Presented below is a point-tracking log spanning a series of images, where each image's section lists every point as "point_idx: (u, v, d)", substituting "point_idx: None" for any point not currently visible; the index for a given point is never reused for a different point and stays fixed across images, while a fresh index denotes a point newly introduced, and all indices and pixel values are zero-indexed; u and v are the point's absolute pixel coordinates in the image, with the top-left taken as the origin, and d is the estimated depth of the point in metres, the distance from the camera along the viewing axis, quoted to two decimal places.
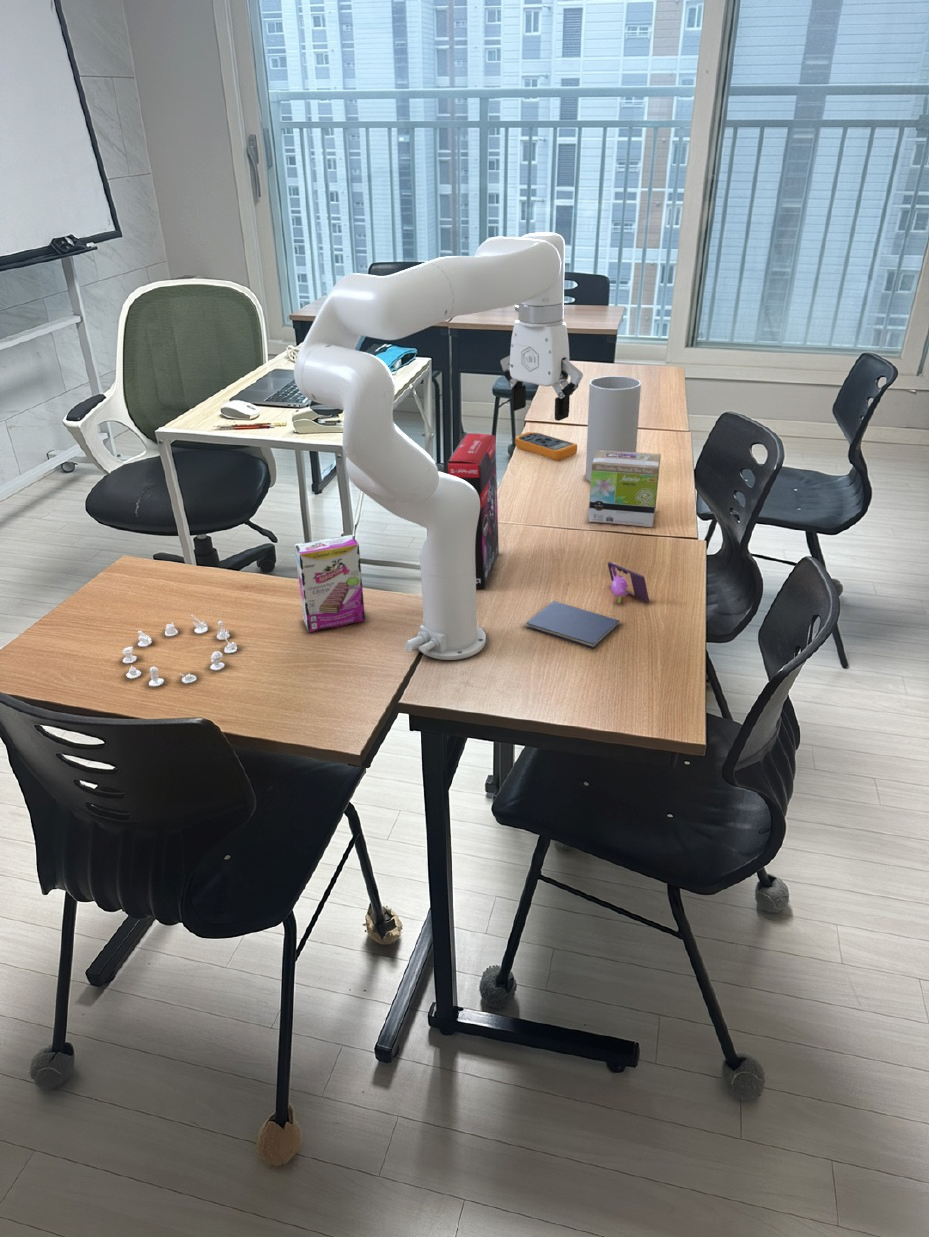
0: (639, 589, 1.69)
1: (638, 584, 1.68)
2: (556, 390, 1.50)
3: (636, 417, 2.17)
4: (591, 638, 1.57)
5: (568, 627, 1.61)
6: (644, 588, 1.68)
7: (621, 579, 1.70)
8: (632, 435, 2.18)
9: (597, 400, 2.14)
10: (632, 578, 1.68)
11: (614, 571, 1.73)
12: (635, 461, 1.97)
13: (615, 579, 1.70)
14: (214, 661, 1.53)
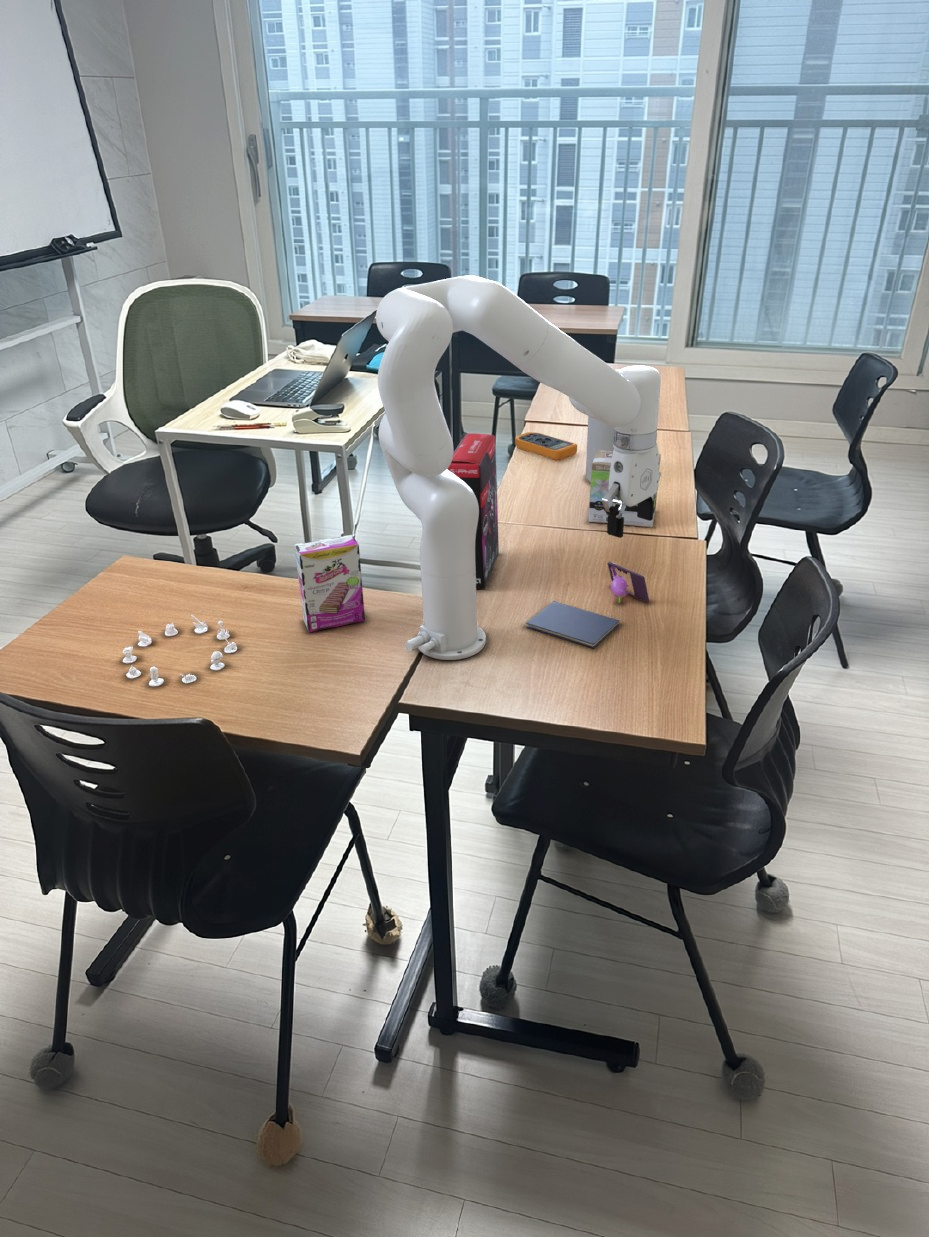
0: (639, 589, 1.69)
1: (638, 584, 1.68)
2: (651, 495, 1.64)
3: None
4: (591, 638, 1.57)
5: (568, 627, 1.61)
6: (644, 588, 1.68)
7: (621, 579, 1.70)
8: None
9: None
10: (632, 578, 1.68)
11: (614, 571, 1.73)
12: None
13: (615, 579, 1.70)
14: (214, 661, 1.53)
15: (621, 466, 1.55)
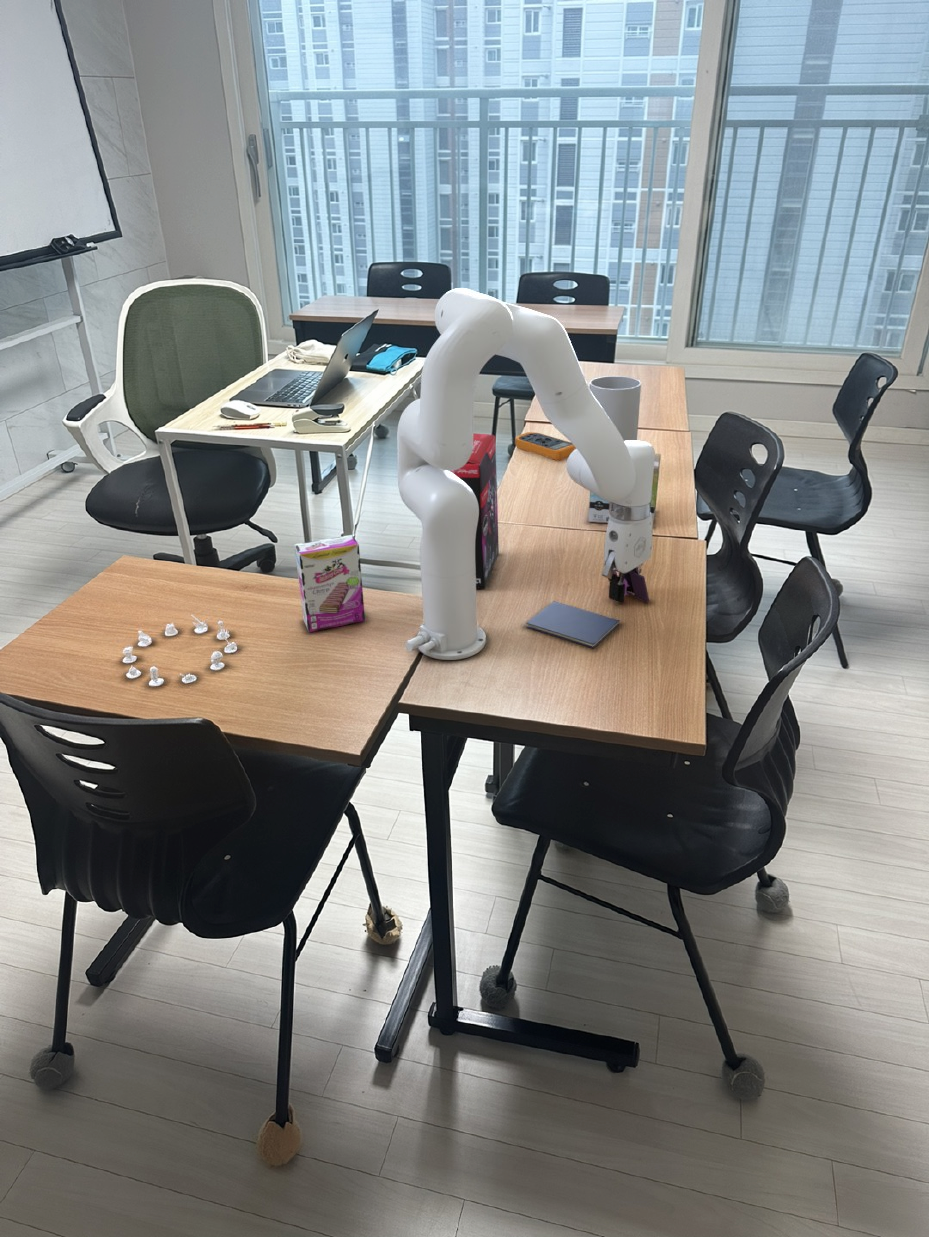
0: (639, 589, 1.69)
1: (638, 584, 1.68)
2: (638, 567, 1.69)
3: (636, 417, 2.17)
4: (591, 638, 1.57)
5: (568, 627, 1.61)
6: (644, 588, 1.68)
7: None
8: (632, 435, 2.18)
9: (597, 400, 2.14)
10: (632, 578, 1.68)
11: None
12: None
13: None
14: (214, 661, 1.53)
15: (616, 535, 1.61)
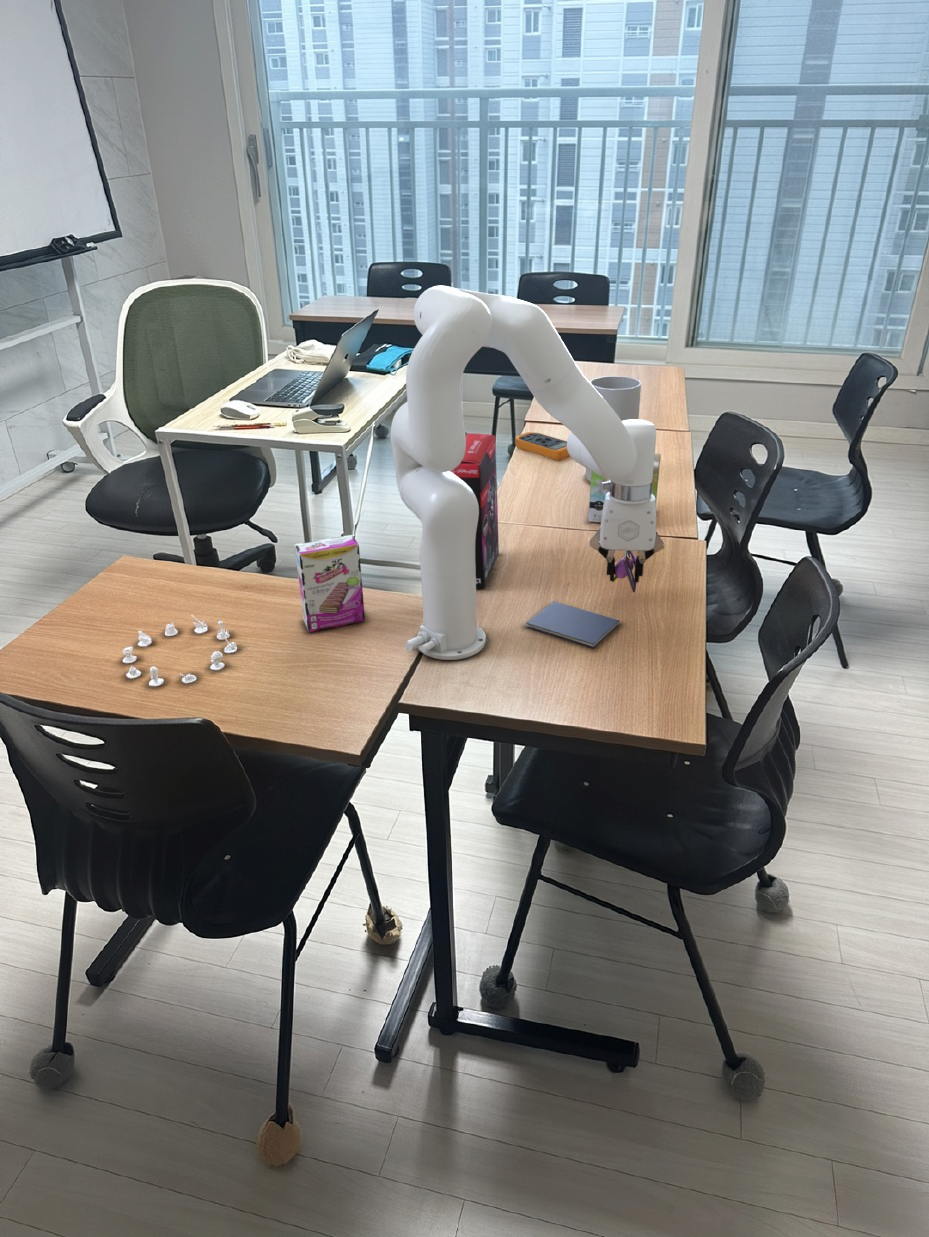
0: None
1: None
2: (640, 555, 1.65)
3: (636, 417, 2.17)
4: (591, 638, 1.57)
5: (568, 627, 1.61)
6: None
7: None
8: None
9: None
10: None
11: None
12: None
13: (621, 559, 1.69)
14: (214, 661, 1.53)
15: None
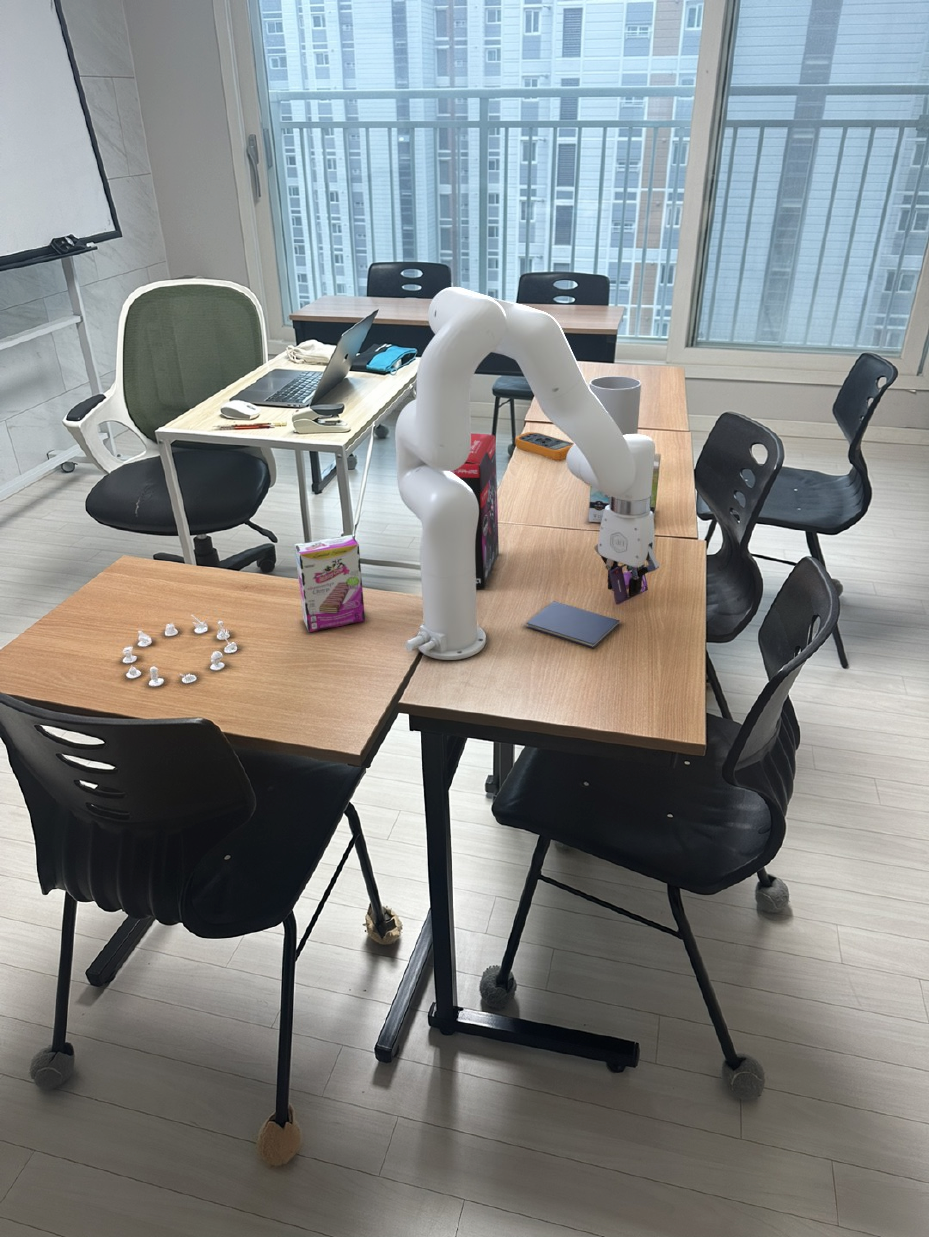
0: None
1: None
2: (633, 571, 1.66)
3: (636, 417, 2.17)
4: (591, 638, 1.57)
5: (568, 627, 1.61)
6: None
7: (625, 573, 1.70)
8: None
9: None
10: None
11: None
12: None
13: None
14: (214, 661, 1.53)
15: None
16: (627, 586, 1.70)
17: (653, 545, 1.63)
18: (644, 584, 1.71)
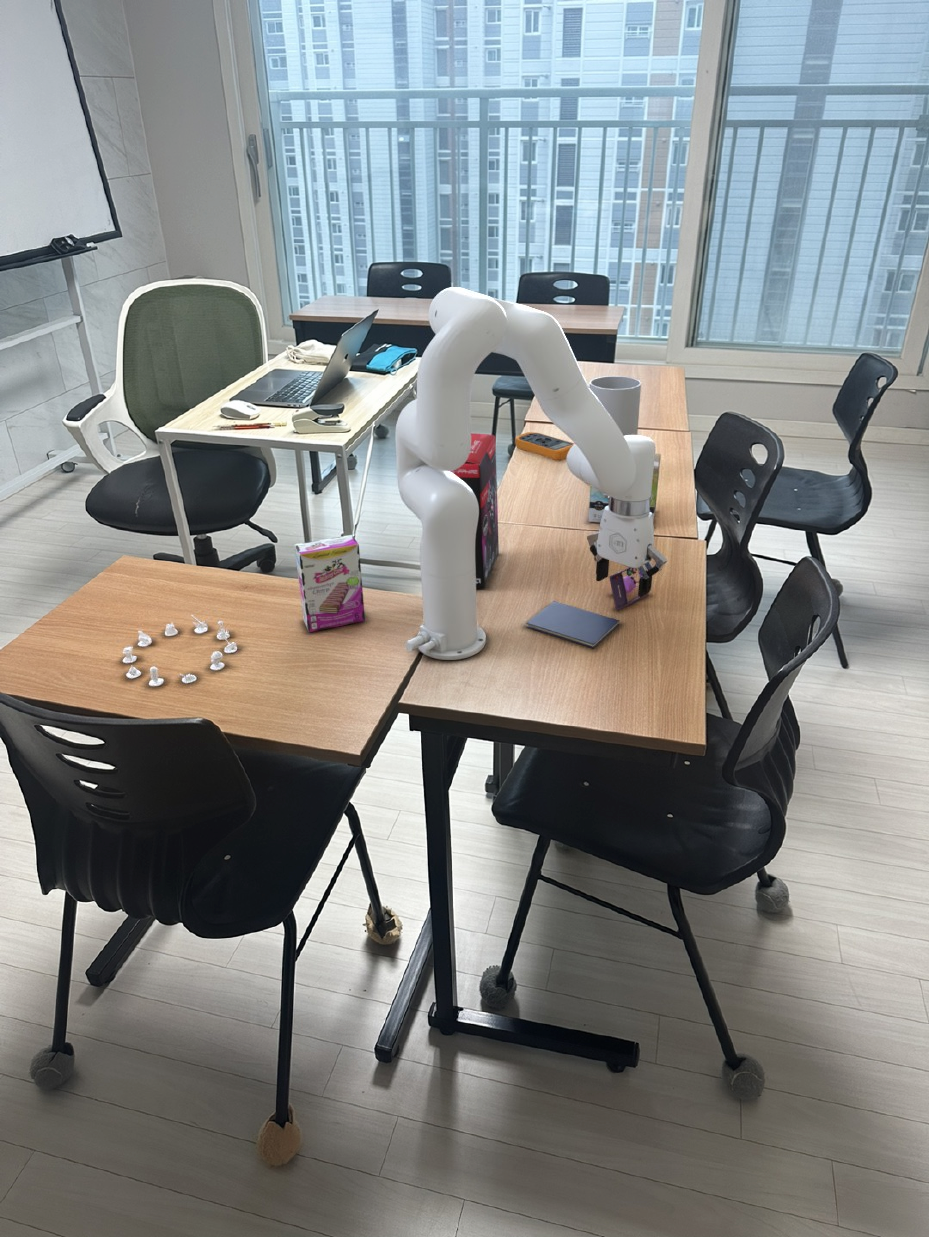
0: None
1: None
2: (641, 571, 1.64)
3: (636, 417, 2.17)
4: (591, 638, 1.57)
5: (568, 627, 1.61)
6: None
7: (625, 578, 1.70)
8: None
9: None
10: None
11: None
12: None
13: None
14: (214, 661, 1.53)
15: None
16: (627, 591, 1.70)
17: None
18: None
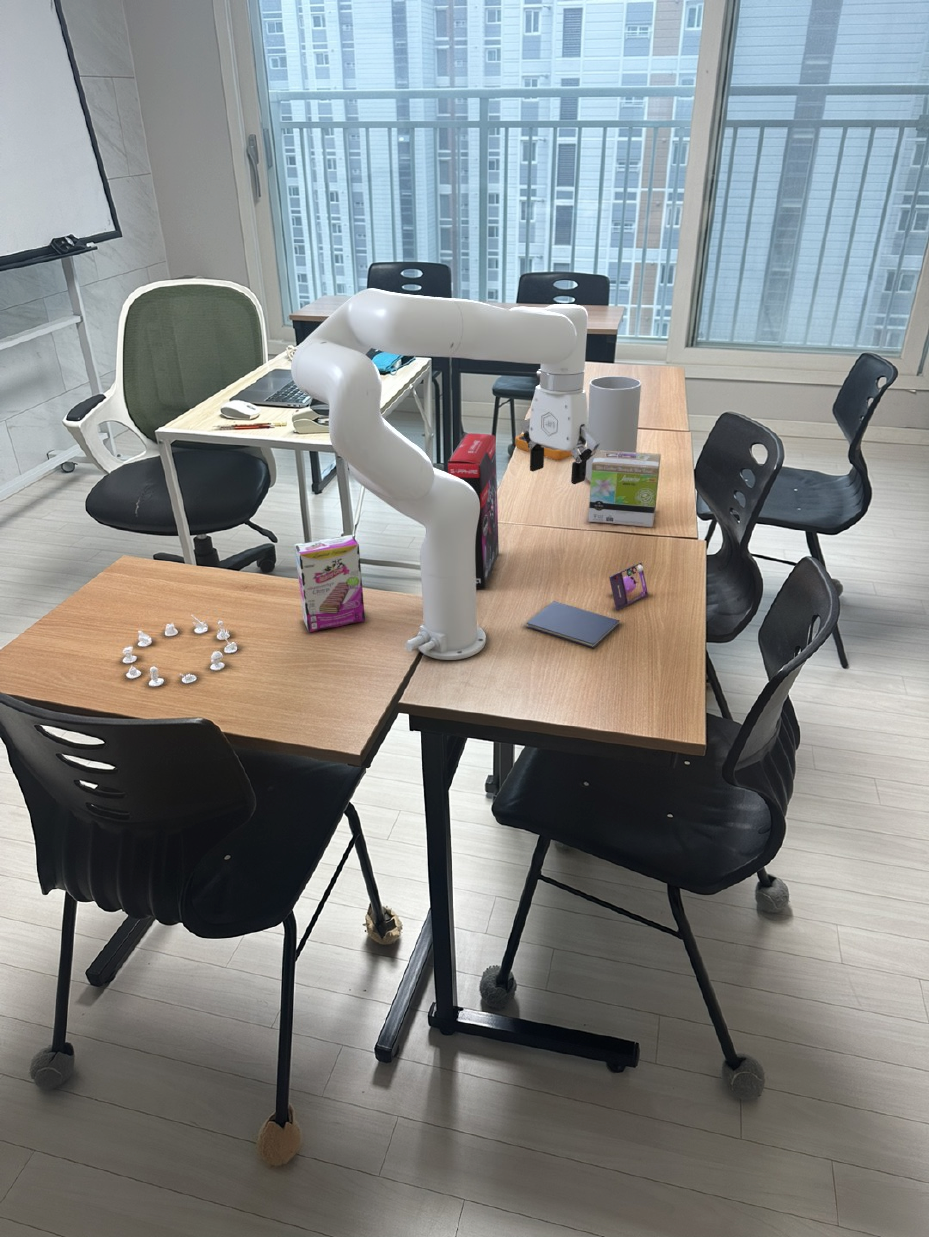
0: None
1: None
2: (573, 455, 1.53)
3: (636, 417, 2.17)
4: (591, 638, 1.57)
5: (568, 627, 1.61)
6: None
7: (625, 578, 1.70)
8: (632, 435, 2.18)
9: (597, 400, 2.14)
10: None
11: None
12: (635, 461, 1.97)
13: None
14: (214, 661, 1.53)
15: None
16: (627, 591, 1.70)
17: None
18: (644, 589, 1.71)
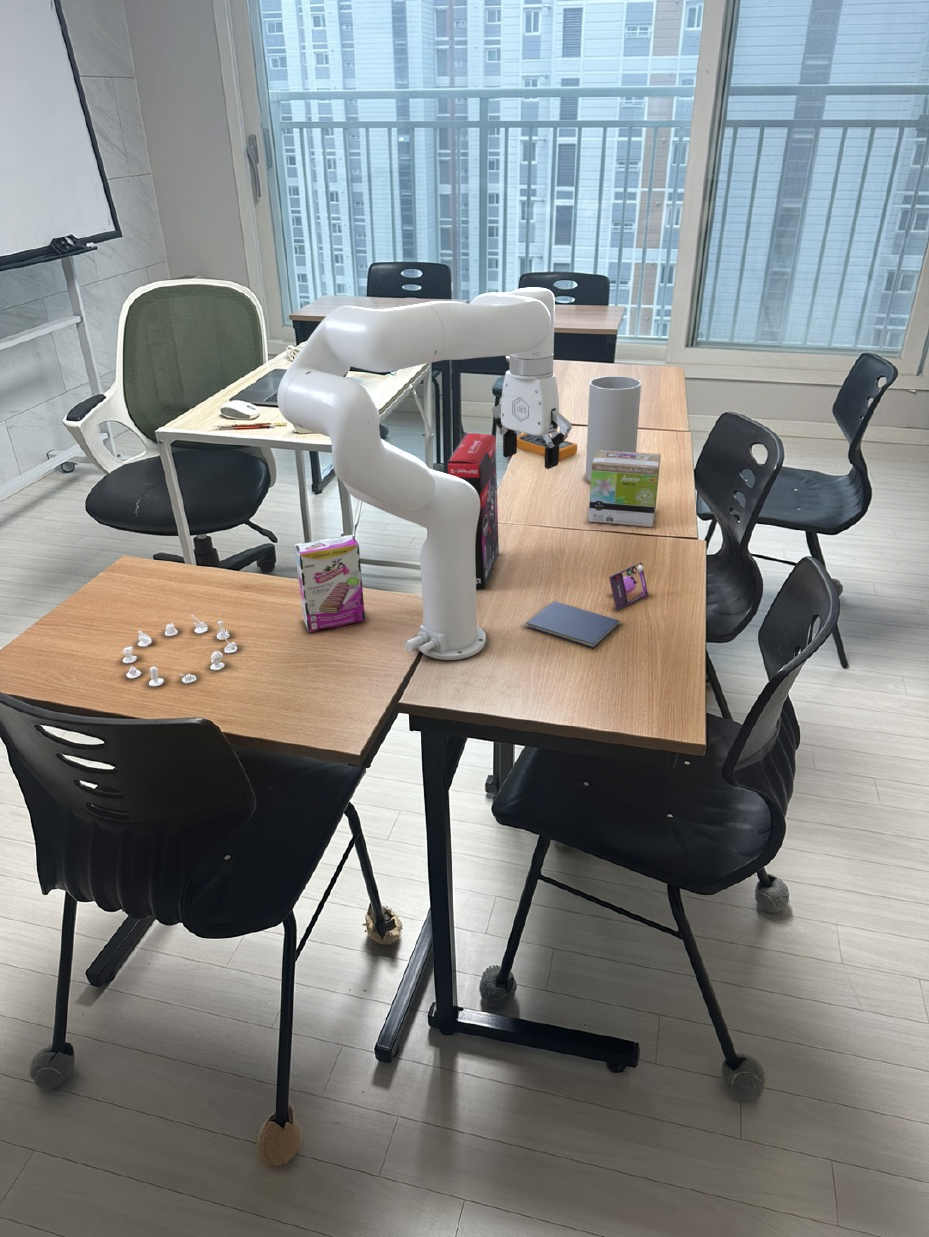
0: None
1: None
2: (546, 440, 1.53)
3: (636, 417, 2.17)
4: (591, 638, 1.57)
5: (568, 627, 1.61)
6: None
7: (625, 578, 1.70)
8: (632, 435, 2.18)
9: (597, 400, 2.14)
10: None
11: None
12: (635, 461, 1.97)
13: None
14: (214, 661, 1.53)
15: None
16: (627, 591, 1.70)
17: (557, 412, 1.52)
18: (644, 589, 1.71)
